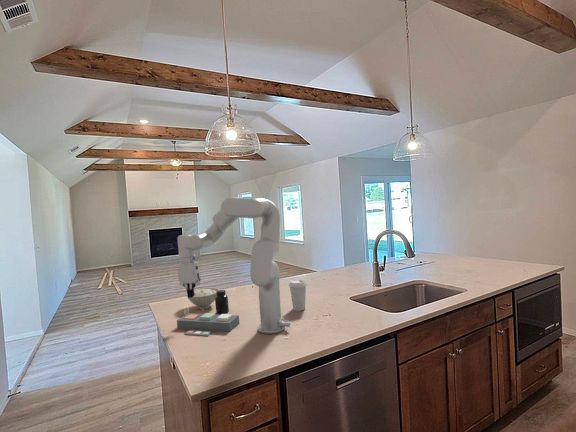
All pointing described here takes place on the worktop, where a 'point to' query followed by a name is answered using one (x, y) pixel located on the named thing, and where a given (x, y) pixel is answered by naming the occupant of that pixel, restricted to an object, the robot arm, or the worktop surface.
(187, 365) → the worktop surface
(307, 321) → the worktop surface
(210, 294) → the bowl
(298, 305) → the coffee cup
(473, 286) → the worktop surface
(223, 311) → the supplement bottle
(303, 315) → the worktop surface
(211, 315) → the sage key
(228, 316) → the cream key
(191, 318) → the terracotta key
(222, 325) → the keypad
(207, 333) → the card
